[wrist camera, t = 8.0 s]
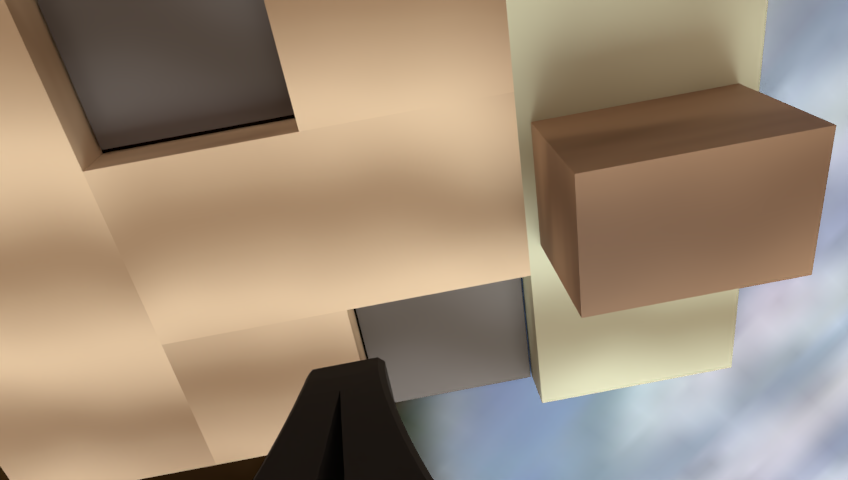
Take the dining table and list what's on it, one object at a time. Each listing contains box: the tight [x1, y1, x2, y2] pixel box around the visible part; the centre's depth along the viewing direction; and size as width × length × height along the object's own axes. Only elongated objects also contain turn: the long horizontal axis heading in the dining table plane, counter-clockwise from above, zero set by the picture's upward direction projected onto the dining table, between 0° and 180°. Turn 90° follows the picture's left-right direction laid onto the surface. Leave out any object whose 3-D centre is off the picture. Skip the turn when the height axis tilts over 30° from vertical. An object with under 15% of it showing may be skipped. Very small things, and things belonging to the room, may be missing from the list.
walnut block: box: [531, 83, 836, 318], centre depth 16 cm, size 4×6×4 cm, turn 99°
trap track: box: [0, 0, 768, 480], centre depth 19 cm, size 17×26×2 cm, turn 99°
